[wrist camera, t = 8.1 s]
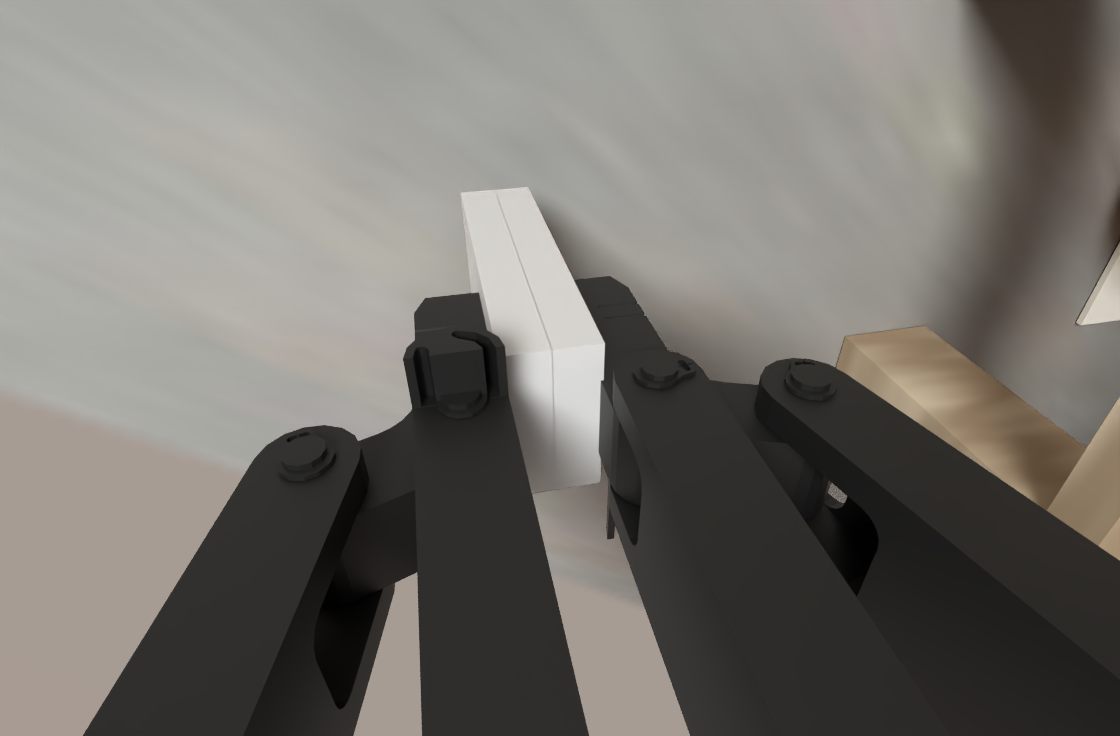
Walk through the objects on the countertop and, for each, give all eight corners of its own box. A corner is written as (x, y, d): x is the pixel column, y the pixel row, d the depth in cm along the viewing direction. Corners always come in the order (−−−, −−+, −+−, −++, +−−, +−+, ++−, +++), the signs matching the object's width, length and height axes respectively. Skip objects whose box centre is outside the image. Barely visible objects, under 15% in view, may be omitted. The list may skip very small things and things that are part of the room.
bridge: (1104, -148, 14) (1874, -231, 7) (907, 373, 22) (1153, 590, 15) (988, -148, 14) (1682, -238, 6) (831, 384, 22) (1047, 613, 15)
